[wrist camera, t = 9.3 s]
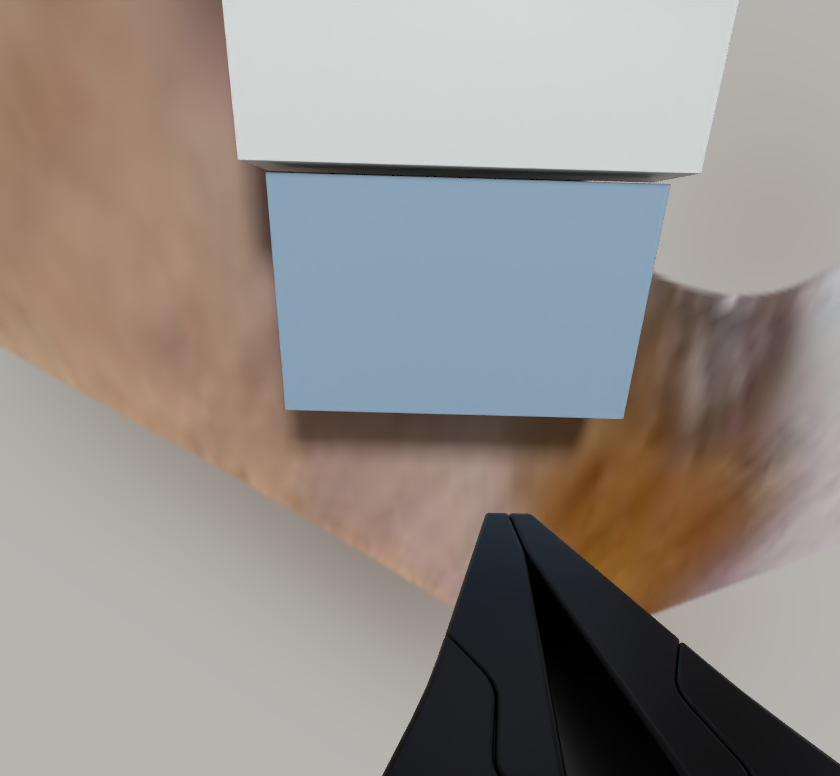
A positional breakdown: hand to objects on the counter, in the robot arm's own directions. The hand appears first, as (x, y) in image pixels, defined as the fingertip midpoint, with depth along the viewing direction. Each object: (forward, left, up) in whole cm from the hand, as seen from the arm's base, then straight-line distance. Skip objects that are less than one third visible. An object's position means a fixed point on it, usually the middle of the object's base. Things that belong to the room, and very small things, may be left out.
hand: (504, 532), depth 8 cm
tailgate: (+7, 0, -9) cm, 12 cm away
